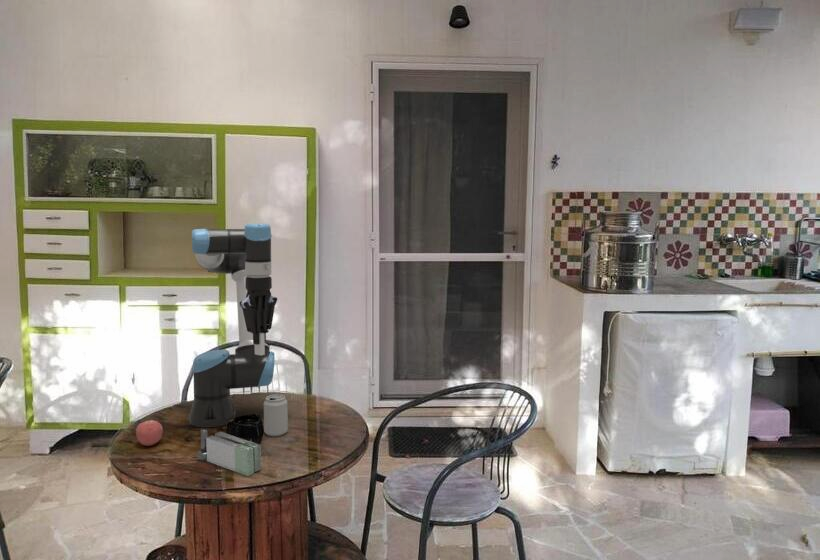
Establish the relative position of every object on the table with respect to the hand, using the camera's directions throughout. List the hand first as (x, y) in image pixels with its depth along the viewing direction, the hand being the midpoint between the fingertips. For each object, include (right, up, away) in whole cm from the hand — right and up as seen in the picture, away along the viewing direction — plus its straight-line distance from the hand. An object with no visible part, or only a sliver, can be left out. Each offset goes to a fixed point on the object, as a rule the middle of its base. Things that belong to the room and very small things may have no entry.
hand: (259, 354), depth 184 cm
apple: (-34, -28, +3) cm, 44 cm away
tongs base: (-7, -30, -11) cm, 33 cm away
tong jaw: (-4, -29, -10) cm, 31 cm away
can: (+2, -27, +14) cm, 31 cm away
